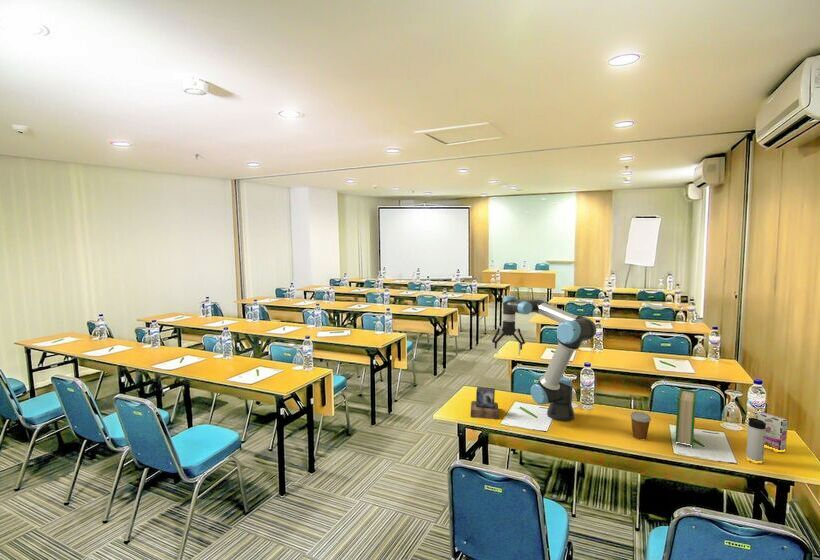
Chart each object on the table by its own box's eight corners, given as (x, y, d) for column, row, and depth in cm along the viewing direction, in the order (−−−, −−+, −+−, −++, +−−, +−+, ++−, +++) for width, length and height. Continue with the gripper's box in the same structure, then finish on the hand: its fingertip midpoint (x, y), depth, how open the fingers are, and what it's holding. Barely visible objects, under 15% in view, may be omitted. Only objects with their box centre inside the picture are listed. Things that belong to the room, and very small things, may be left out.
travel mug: (742, 456, 203) (745, 416, 201) (759, 458, 201) (762, 417, 200) (748, 463, 197) (751, 421, 195) (765, 465, 195) (769, 423, 194)
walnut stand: (497, 408, 261) (497, 402, 260) (498, 419, 245) (498, 412, 245) (471, 406, 263) (471, 400, 263) (470, 417, 248) (470, 410, 247)
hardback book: (692, 448, 211) (695, 401, 209) (675, 444, 215) (677, 398, 213) (693, 435, 226) (696, 391, 224) (677, 432, 230) (679, 388, 228)
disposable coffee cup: (651, 442, 217) (652, 419, 216) (630, 439, 220) (631, 417, 219) (648, 434, 226) (649, 412, 225) (628, 432, 229) (629, 410, 228)
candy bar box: (786, 452, 208) (788, 419, 207) (779, 454, 206) (782, 421, 205) (760, 442, 218) (762, 411, 217) (754, 443, 217) (756, 412, 215)
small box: (475, 407, 252) (476, 389, 251) (476, 403, 259) (477, 386, 258) (493, 409, 250) (494, 391, 249) (494, 405, 256) (495, 388, 255)
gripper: (529, 320, 267) (528, 353, 269) (488, 318, 271) (487, 351, 273) (530, 322, 260) (529, 356, 261) (488, 320, 264) (487, 354, 265)
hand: (508, 354), depth 267 cm, fingers open, 13 cm apart
